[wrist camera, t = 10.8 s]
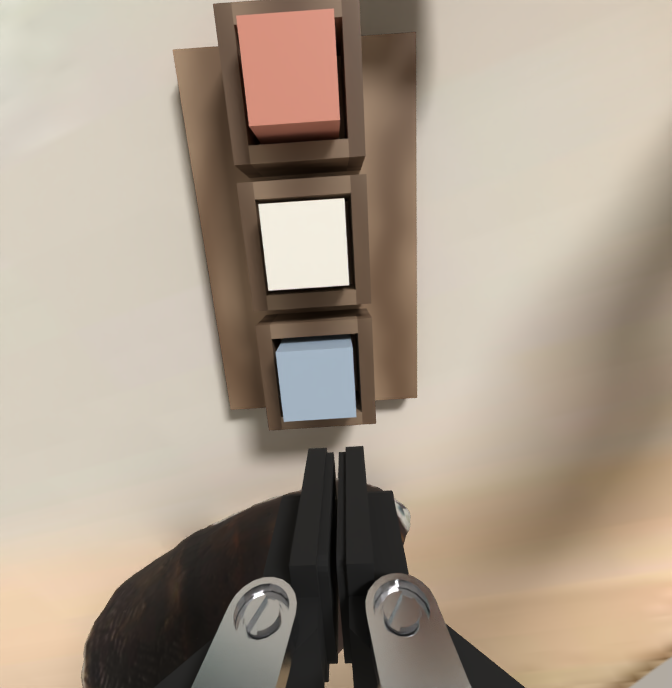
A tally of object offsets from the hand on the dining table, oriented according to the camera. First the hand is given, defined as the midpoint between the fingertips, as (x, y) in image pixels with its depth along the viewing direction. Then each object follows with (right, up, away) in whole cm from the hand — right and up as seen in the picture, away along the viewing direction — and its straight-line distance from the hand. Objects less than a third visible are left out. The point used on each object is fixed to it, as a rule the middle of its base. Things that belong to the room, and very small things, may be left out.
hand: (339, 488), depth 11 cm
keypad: (-2, +12, +18) cm, 22 cm away
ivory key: (-2, +11, +14) cm, 18 cm away
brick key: (-3, +20, +12) cm, 23 cm away
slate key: (-1, +3, +16) cm, 17 cm away
